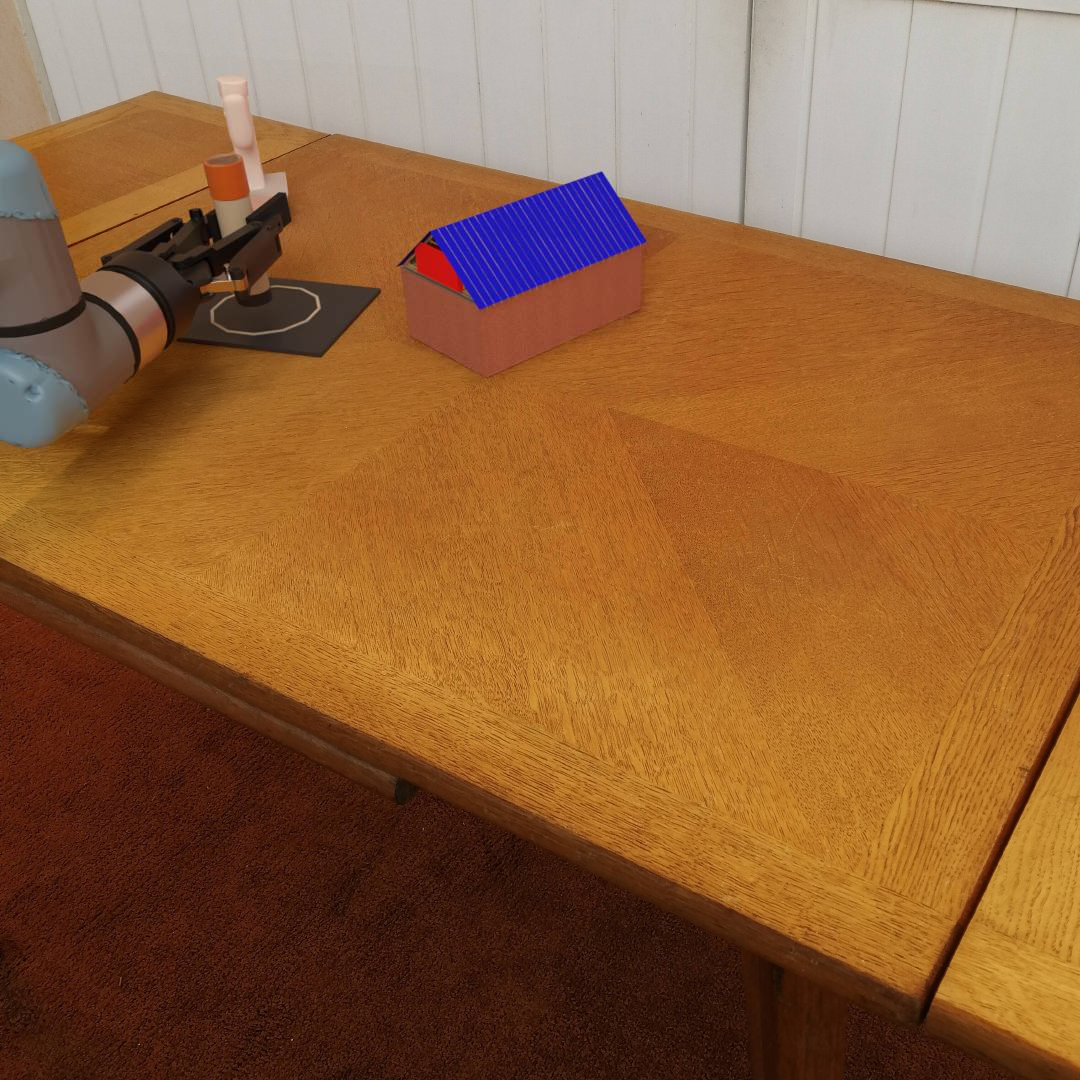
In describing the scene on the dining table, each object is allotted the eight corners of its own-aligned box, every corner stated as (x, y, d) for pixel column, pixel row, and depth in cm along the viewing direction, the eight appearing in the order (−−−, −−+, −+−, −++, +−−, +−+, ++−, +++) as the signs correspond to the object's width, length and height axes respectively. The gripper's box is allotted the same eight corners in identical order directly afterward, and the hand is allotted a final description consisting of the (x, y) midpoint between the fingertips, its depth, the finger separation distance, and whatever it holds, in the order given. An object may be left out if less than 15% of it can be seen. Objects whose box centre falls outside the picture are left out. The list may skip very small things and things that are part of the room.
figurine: (291, 200, 131) (264, 62, 121) (295, 230, 124) (267, 87, 114) (227, 206, 129) (195, 68, 120) (228, 237, 122) (194, 93, 113)
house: (646, 308, 108) (648, 187, 100) (485, 380, 97) (474, 251, 90) (563, 271, 115) (558, 155, 107) (404, 335, 104) (387, 212, 97)
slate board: (144, 337, 105) (143, 332, 104) (218, 275, 115) (217, 270, 115) (320, 357, 101) (320, 352, 101) (381, 291, 111) (380, 287, 111)
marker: (230, 305, 105) (195, 165, 96) (247, 290, 107) (214, 152, 99) (262, 309, 104) (230, 167, 96) (279, 293, 106) (249, 154, 98)
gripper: (53, 347, 92) (199, 237, 109) (231, 367, 89) (352, 250, 106) (21, 259, 87) (179, 158, 104) (208, 277, 84) (339, 170, 101)
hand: (266, 205), depth 105 cm, fingers closed on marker, 3 cm apart
